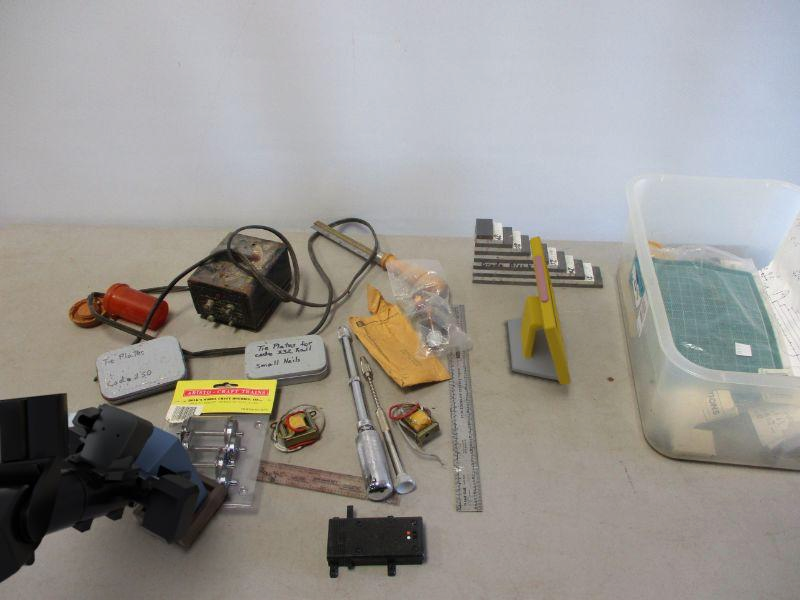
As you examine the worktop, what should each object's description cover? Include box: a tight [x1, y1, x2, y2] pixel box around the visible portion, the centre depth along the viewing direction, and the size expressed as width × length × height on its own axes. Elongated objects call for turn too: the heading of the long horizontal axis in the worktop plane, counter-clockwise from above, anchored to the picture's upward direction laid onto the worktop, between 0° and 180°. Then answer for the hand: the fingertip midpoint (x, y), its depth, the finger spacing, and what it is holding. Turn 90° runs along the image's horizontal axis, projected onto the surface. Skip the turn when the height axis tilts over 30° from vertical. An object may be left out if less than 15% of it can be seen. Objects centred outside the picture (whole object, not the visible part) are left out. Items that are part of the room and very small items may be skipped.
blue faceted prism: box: [132, 425, 209, 515], centre depth 72 cm, size 5×5×13 cm
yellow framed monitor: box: [507, 236, 572, 386], centre depth 91 cm, size 20×8×16 cm, turn 176°
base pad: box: [131, 471, 228, 548], centre depth 76 cm, size 8×8×3 cm
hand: (173, 467), depth 72 cm, fingers closed on blue faceted prism, 5 cm apart
